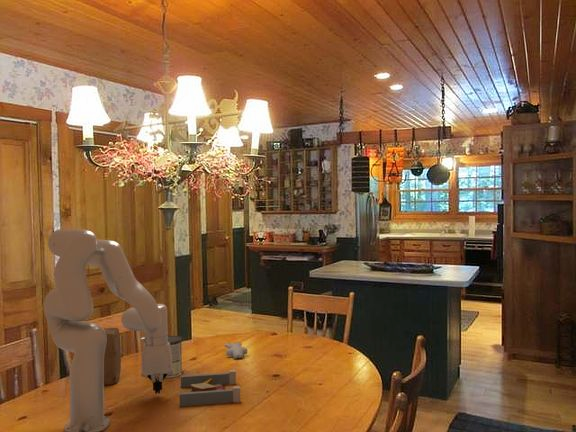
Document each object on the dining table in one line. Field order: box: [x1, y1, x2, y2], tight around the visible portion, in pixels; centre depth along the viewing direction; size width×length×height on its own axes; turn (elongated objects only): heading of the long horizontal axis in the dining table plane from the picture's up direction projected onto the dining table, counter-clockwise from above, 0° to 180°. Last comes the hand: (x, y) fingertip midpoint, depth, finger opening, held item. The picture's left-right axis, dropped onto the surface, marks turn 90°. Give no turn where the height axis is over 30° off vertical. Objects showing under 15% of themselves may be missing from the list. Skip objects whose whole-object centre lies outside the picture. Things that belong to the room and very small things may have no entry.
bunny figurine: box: [224, 341, 248, 360], centre depth 224 cm, size 10×5×15 cm
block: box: [103, 327, 122, 386], centre depth 191 cm, size 11×8×20 cm
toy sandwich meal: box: [189, 378, 227, 392], centre depth 176 cm, size 12×14×5 cm
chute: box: [179, 369, 241, 407], centre depth 177 cm, size 19×20×5 cm
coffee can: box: [155, 335, 183, 379], centre depth 199 cm, size 10×10×14 cm
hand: (157, 392), depth 174 cm, fingers closed
